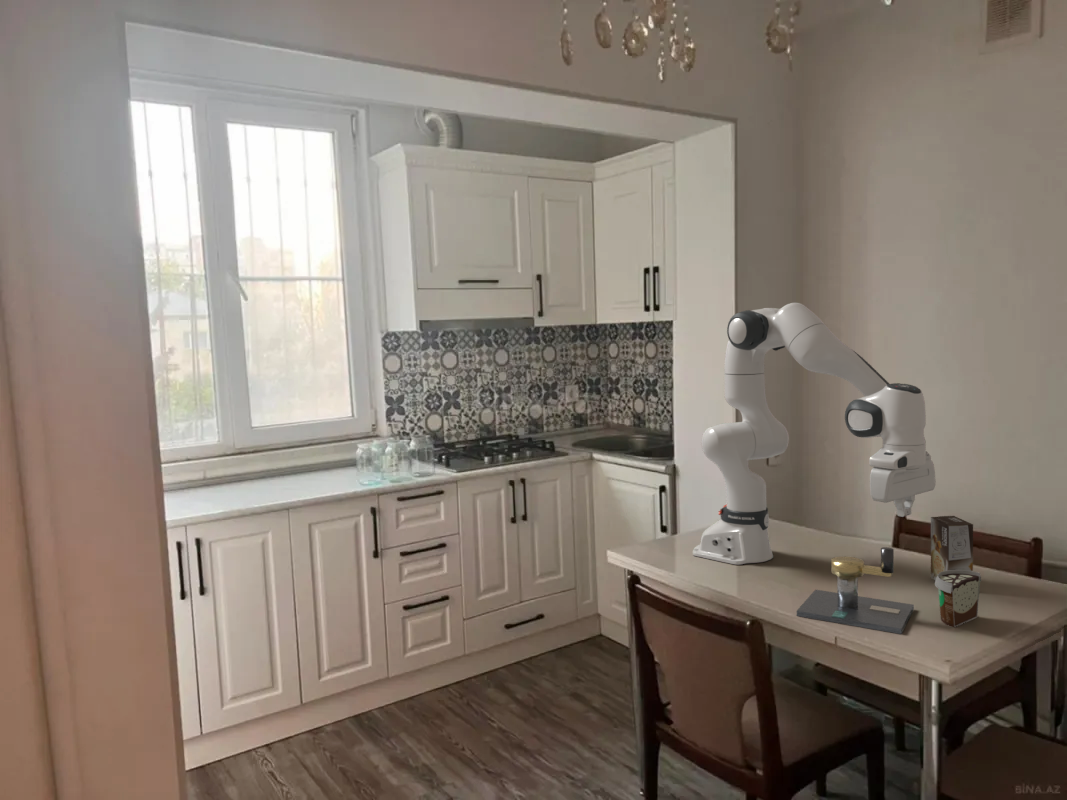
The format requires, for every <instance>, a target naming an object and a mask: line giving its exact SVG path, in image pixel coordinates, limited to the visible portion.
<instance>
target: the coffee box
mask: <svg viewBox="0 0 1067 800" xmlns="http://www.w3.org/2000/svg"><path fill="white" fill-rule="evenodd" d="M973 569H974V523H971V522H968V521H966V520H964V519H962V518H961V517H960V518H959V517H958V516H955V515H940V516H939V515H938V516H931V517H930V578H931V579H932V580H934V582H935V581H936V577H937V576H938V574H939V573H940V572H943V571H948V570H966V571H974V570H973Z"/></svg>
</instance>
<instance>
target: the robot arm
mask: <svg viewBox="0 0 1067 800" xmlns="http://www.w3.org/2000/svg"><path fill="white" fill-rule="evenodd" d="M727 323H728V324H727V327H726V328H727V329H726V330H727V331H726V333H727V337H728V341H727V344H726V348H725V353H724V354H725V355H724V368H723V369H724V370H723V371H724V372H723V375H724V377H723V378H724V379H723V380H724V382H723V383H724V385H723V386H724V399H725V401H726V403H727V404H728V405H729V406H730V407H731V408H734V409H736V410H738V411H739V412H740V414H741V419H742V421H737V422H736V421H735V422H725V423H719V424H716V425H713V426H710V427H707V428H706V429H705V431H704V432H703V434H702V436H701V442H700V443H701V444H700V445H701V450H702V453H704V455H705V457H706V458H707V459H708V460H710V461H711V462H712V463H714V464H715V465H716V466H717V468H718V469H719V470H720V472H721V474H722V477H723V479H724V487H725V495H726V496H725V498H726V500H725V501H726V502H725V503H726V504H725V505H723V506H722V508H720V510H719V511H718V515H719V516H720V519H719V520H718V519H717V521H716V522H714V523H713V524H711V525H710V526H708V527H707V528H706V529H705V530H704V531H703V532H702V534H701V538H700V543H699V544H697V545H696V546H695V547H694V548H693V550H692V555H693V556H695V557H698V558H704V559H708V560H713V561H717V562H723V563H726V564H731V565H736V566H737V565H738V566H740V565H743V564H744V565H745V564H756V563H763V562H768V561H770V560H772V559H773V558H774V555H773V550H772V548H771V543H770V540H769V538H770V537H769V529H768V528H769V521H770V519H769V516H770V515H769V508H768V507H767V483H766V481H765V479H764V478H763V477H762V476H761V475H759V474H758V473H756V472H754V471H751V469H750V466H749V461H750V460H751V461H753V460H762V459H763V460H764V459H770V458H773V457H776V456H778V455H782V454H784V453H785V452H786V451H787V449H788V446H789V442H790V435H789V432H788V430H787V427H786V426H785V424H783V423H782V422H781V421H779V420H778V419H777V418H776V417H775V416H774V414H773V413H772V411H771V410H770V409H771V408H770V407H769V404H768V401H767V395H766V375H765V373H766V371H765V369H766V367H765V366H766V365H765V357H766V355H767V353H768V352H769V351H771V350H773V351H775V352H777V351H778V350H779V351H780V350H782V349H784V348H785V349H786V351H788V353H789V354H790V355H791V357H792V358H793V359H794V360H795V361H796V363H798V364H799V365H800V366H802V367H803V368H804V369H805V370H807V371H809V372H812V373H816V374H823V375H830V376H834V377H837V378H840V379H843V380H844V381H847V382H849V383H850V384H852V385H853V386H854V387H855V388H856V389H857V390H858V391H859V393H861V394H862V395H863V396H862V397H859V398H856V399H853V400H852V401H850V402H849V403H848V404H847V407H846V409H845V412H844V422H845V425H846V427H847V430H848V431H849V432H850V433H851V435H854V436H855V437H858V438H863V439H868V438H869V439H872V438H879V437H881V439H882V447H880V448H879V449H878V450H877V451H876V452H875V453H874V454H872V455H871V456H870V457H869V461H868V463H869V466H870V467H872V468H871V470H870V474H869V489H870V490H869V491H870V493H869V494H870V497H871V499H872V500H873V501H875V502H879V503H884V504H886V503H891V502H893V504H894V505H895V508H896V516H898V517H900V518H901V517H902V518H903V517H907V516H910V515H912V507H913V505H914V502H915V500H916V495H919V494H923V493H927V492H931V491H934V490H935V488H936V484H937V482H936V471H935V470H936V469H935V463H934V462H933V460H932V456H931V455H930V453H929V452H928V451H926V450H927V449H926V445H927V444H926V439H925V434H924V433H925V431H924V430H925V427H926V425H927V424H926V422H927V420H926V419H927V417H926V416H927V415H926V402H925V397H924V393H923V391H922V390H921V389H920V388H919V387H918V386H915V385H913V384H909V383H898V382H897V383H896V382H894V383H890V382H888V380H886V379H885V378H884V376H882V374H880V373H879V372H878V370H876V369H875V368H874V367H873V366H872V365H871V364H870V363H868V361H866V359H865V358H864V357H863V356H861V355H860V354H858V352H856V351H855V350H853V349H852V348H851V347H849V346H848V345H846V344H845V343H844V342H843V341H842V340H841V339H839V337H838V336H836V334H835V333H833V332H832V330H831V329H830V328H829V327H828V326H827V325H826V324H825V323H824V322H823V320H822V318H820V317H819V316H818V315H817V314H816V313H815V312H814V311H812V310H811V309H809V307H807V306H806V305H804V304H803V303H801V302H791V303H787V304H785V305H784V306H782V307H781V308H775V307H764V308H759V309H752V310H749V309H747V310H742V311H739V312H737V313H735V314H733V315H732V316H731V318H730V319H729V321H728V322H727Z"/></svg>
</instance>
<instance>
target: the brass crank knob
mask: <svg viewBox="0 0 1067 800" xmlns="http://www.w3.org/2000/svg"><path fill="white" fill-rule="evenodd" d="M894 550H895V549H894V548H893V547H887V546H884V547H881V548H880V566H874V565H866V564H865V561H864V560H863V559H861V558H858V557H853V556H836V557H833V558H831V559H830V560H831V561H830V562H831V565H830V567H831V571H830V572H831V573H832V574H833V575H834V576H836V577H837V576H840V577H846V578H857V577H858V578H861V577H863V576H864V575H872V576H873V575H874V576H880V577H888V578H892V576H893V574H894V570H895V569H894V567H895V565H894V562H895V561H894V560H895V559H894V555H895V553H894Z"/></svg>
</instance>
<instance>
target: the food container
mask: <svg viewBox="0 0 1067 800" xmlns="http://www.w3.org/2000/svg"><path fill="white" fill-rule="evenodd" d="M981 582H982V575H981V572H979V571H974V570H973V571H966V570H948V571H943V572H940V573H939V574H938V576H937V577H936V581H935V580H934V586H935V587H936V588H937V589H938V598H939V599H938V601H939V611H940V615H939V616H940V620H941V622H942V624H945V625H946V626H948V625H949V626H948V627H951V628H954V627H955V628H956V626H957V627H959V626H961V625H963V623H964V624H966V623H968V622H970V621H972V620H975V619H976V618H978V616H979V615H978V613H979V602H980V601H979V599H980V585H981ZM965 622H966V623H965ZM958 625H959V626H958Z"/></svg>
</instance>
